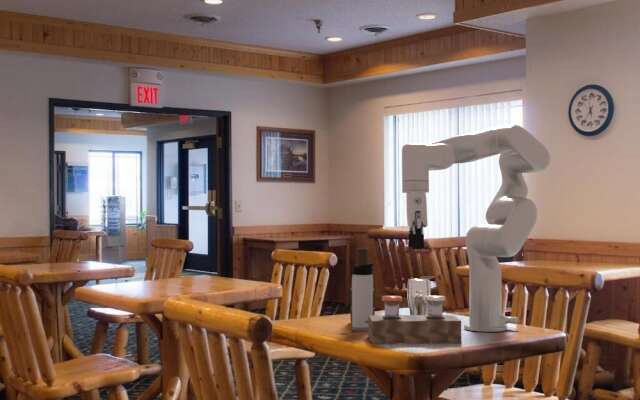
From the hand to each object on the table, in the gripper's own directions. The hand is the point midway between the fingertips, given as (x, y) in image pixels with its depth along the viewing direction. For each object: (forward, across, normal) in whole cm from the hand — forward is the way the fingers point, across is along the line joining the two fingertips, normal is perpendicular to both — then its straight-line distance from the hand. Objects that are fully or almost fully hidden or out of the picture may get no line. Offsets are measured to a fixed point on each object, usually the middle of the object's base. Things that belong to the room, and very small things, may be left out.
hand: (416, 248), depth 213 cm
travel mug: (+25, +14, +15) cm, 33 cm away
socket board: (+25, -4, +1) cm, 25 cm away
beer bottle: (+26, +29, +14) cm, 41 cm away
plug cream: (+22, -3, -5) cm, 22 cm away
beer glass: (+26, +16, -2) cm, 30 cm away
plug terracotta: (+21, -4, +7) cm, 23 cm away
